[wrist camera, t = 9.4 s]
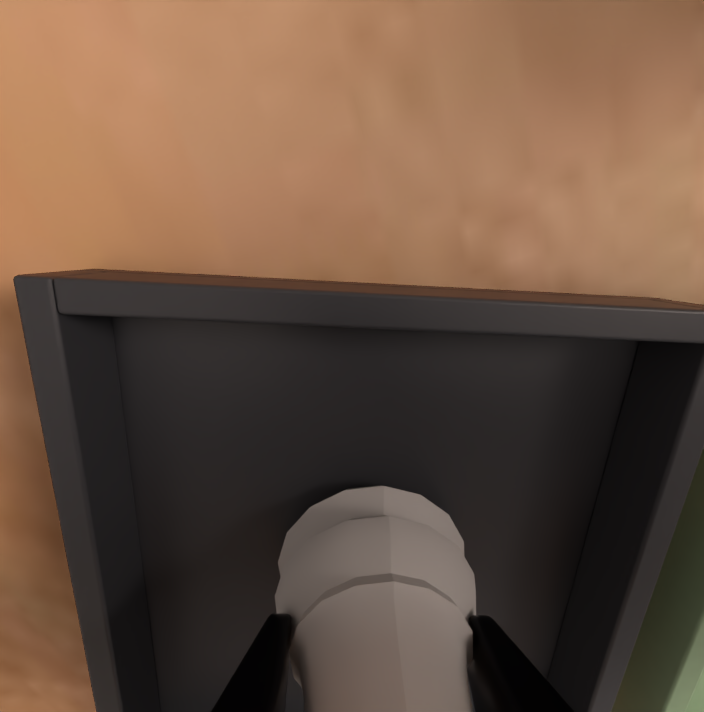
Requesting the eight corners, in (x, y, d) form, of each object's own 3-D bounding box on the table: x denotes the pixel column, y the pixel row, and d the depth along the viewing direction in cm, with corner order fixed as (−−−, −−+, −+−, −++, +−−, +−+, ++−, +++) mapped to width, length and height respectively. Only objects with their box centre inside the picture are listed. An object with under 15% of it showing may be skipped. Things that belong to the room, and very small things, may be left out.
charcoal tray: (657, 298, 8) (753, 312, 6) (542, 711, 12) (581, 800, 10) (92, 268, 8) (9, 275, 6) (151, 713, 11) (113, 809, 9)
